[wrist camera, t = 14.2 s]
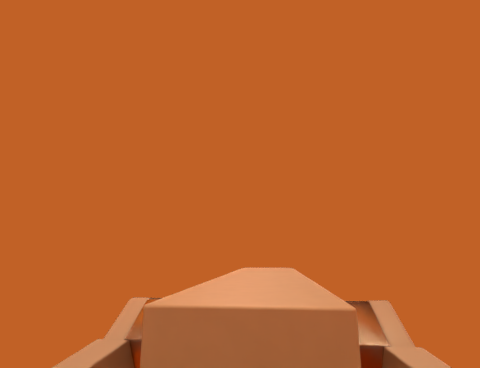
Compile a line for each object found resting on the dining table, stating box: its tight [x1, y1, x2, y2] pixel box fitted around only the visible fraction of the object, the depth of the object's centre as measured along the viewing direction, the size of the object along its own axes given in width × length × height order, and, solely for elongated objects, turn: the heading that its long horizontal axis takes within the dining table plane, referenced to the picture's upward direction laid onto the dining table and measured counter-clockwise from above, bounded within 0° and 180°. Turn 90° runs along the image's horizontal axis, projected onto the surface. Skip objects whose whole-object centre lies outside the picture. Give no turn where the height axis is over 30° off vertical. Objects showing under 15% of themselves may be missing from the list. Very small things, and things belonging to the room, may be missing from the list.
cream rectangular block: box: [140, 268, 361, 368], centre depth 15 cm, size 20×4×2 cm, turn 174°
